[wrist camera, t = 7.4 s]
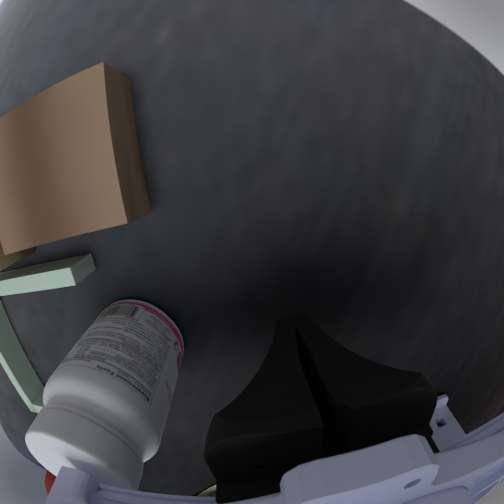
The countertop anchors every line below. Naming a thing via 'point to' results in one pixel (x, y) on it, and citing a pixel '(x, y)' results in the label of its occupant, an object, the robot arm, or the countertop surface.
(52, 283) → the corral
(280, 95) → the countertop surface
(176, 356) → the pill bottle
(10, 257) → the block
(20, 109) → the tan cardboard block
